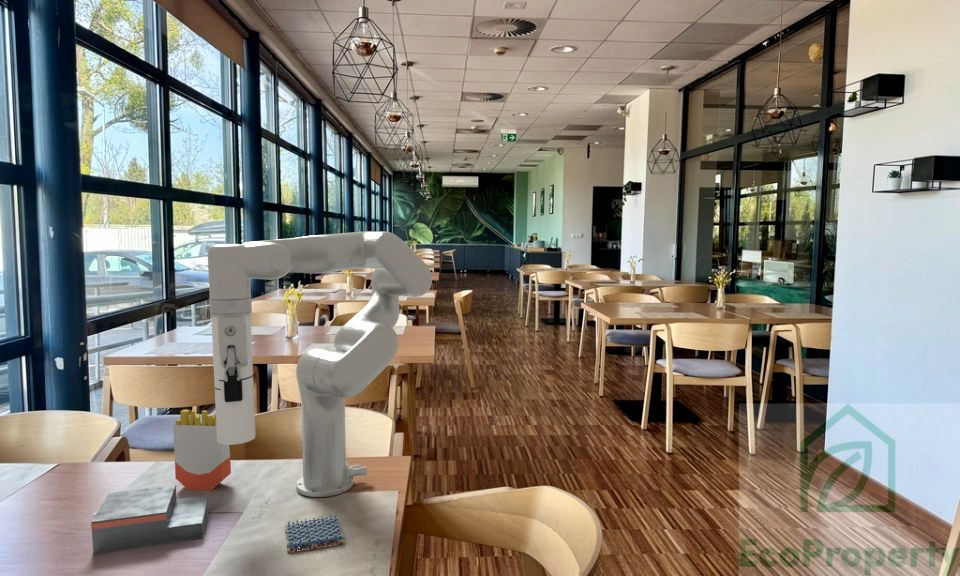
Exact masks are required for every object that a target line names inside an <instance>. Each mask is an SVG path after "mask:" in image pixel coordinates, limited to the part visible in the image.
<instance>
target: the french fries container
mask: <svg viewBox="0 0 960 576" xmlns="http://www.w3.org/2000/svg"><path fill="white" fill-rule="evenodd" d="M172 425H173V426H172V430H173V448H174V450H173V452H174V471H175V472H174V473H175V480H177V481H178V483H180V484H181V486H183V487H184V488H185V489H186V490H187V489H188V490H191V491H210V490H211V491H212V490H213V489H214V488H216V487H217V486H218V485H220V484H221V483H222V482H223V481H224V480H225V479H226V478H228V476H230V475H231V473H232V465H231V464H232V463H231V452H230V451H231V449H230V445H224V444H220V443H218V442H217V428H216V413H214V414H208V410H202V411H201V416H200V414H198V413H196V410H195V409H193V410H190V409H183V410H180V418H179V419H176V420H175V423H174V424H172ZM219 483H220V484H219Z"/></svg>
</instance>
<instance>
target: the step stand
mask: <svg viewBox="0 0 960 576" xmlns="http://www.w3.org/2000/svg"><path fill="white" fill-rule="evenodd" d="M209 508H210V505H209V495H208V494H206V495H198V496H189V497H182V498H177V485H176V484H173V485H165V486H155V487H148V488H138V489H131V490H123V491H121V490H120V491H116V492H115V491H113V492H108V494H107V495H106V497H105V498H104V500H103V502H102V504H101V506H100V507H99V509H98V511H97V512H96V514H95V515H94V517H93V519H92V521H91V523H90V526H91V527H90V529H91V538H92V554H93V555H94V554H95V555H97V554H103V553H109V552H115V551H116V552H117V551H122V550H123V551H124V550H131V549H137V548H138V549H139V548H145V547H150V546H158V545H164V544H165V545H166V544H170V543H172V544H173V543H178V542H185V541H192V540H193V541H194V540H199V539H203V537H204V534H205V529H206V524H207V519H208V515H209V510H210V509H209Z"/></svg>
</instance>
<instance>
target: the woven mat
mask: <svg viewBox="0 0 960 576" xmlns="http://www.w3.org/2000/svg"><path fill="white" fill-rule="evenodd" d="M295 521H296V522H295ZM295 521H292V524H291V523H290V522H291V521H287V524H286V525H285V527H284V528H285V529H284V530H285V531H284V532H285V538H286V539H287V543H286V544H285V546H287V548H286V552H287V553H289V552H293V553H298V552H297V549H298V551H299V550H300V551H299V552H302V551H301V550H302V549H303V550H305V549H311V550H316V549H319V548H318V547H322V548H325V547H324V546H328V547H330V546H329V545H334V546H339V545H344V544H345V543H346V540H345V539H343V538H344V537H345V536H344V533H343V529H342V525H341V523H340V522H339V521H340V519H339V517H337V516H336V515H334V516H333V515H329V518H328V516H326V517H325V518H324V516H321V517H320V518H319V517H318V518H317V519H316V518H315V517H313V518H312V520H311V519H309V520H307V519H304V520H300V522H299V520H298V519H297V520H295ZM334 525H335V526H334ZM300 527H301V528H300ZM305 527H306V528H305ZM301 533H302V534H301ZM305 535H306V536H305ZM302 538H303V539H302ZM338 538H339V539H338ZM297 539H298V540H297ZM325 540H326V541H325ZM320 541H321V542H320ZM329 542H330V543H329ZM324 543H326V544H324ZM320 544H321V545H320ZM294 545H295V546H294ZM307 546H309V547H307ZM297 547H300V548H297ZM293 548H295V549H293ZM312 548H313V549H312ZM287 549H288V550H287ZM294 551H295V552H294ZM305 551H306V550H305Z"/></svg>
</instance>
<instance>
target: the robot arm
mask: <svg viewBox="0 0 960 576" xmlns="http://www.w3.org/2000/svg"><path fill="white" fill-rule="evenodd" d="M367 268H368V269H369V268H374V269H373V272H372V275H371V294H370V295H371V296H370V299H369V300H368V302H367V304H365V306H364V307H363V308H361V309H360V310H359V311H358V312H357V313H356V314H355V315H353V317H352V318H350V319H348V321H347V322H346V323H345V324H344V325H342V326H341V328H340V329H338V331H337V332H336V334H335V336H334V341H333V345H334V349H329V348H325V347H315V348H311V349H309V350H307V351H305V352H304V353H303V354H302V355H301V356H300V357H299V359H298V362H297V364H296V368H295V369H296V371H295V375H296V382H297V388H298V391H299V396H300V397H299V398H300V405H301V406H300V407H301V409H300V411H301V444H302V445H301V446H302V449H301V451H302V477H301V478H299V479H297V481H296V484H295V488H296V492H298V493H299V494H301V495H302V496H307V497H311V498H312V497H313V498H325V497H331V496H332V497H333V496H336V495H340V494H343V493H345V492H347V491H349V490H350V489H351V488H352V487H353V485H354V477H358V476H359V477H363V476H368V468H367V466H361V465H360V464H354V465H350V464H348V462H347V455H346V453H347V452H346V451H347V450H346V449H347V448H346V447H347V446H346V405H345V400H344V399H351V398H354V397H355V396H356V395H359V394H361V393H362V391H364V390H365V389H366V388H367V387H368V386H369V385H370V384H371V383H372V382H373V381H374V380H375V379H376V378H377V377H379V374H381V373H382V372H383V371H384V370H385V369H386V368H387V367H388V366H389V364H391V362H392V361H393V359H394V358H395V356H396V354H397V350H398V349H399V348H398V347H399V337H398V334H397V332H396V331H395V329H394V327H395V326H396V324H397V323H398V320H399V317H400V297H401V296H402V297H408V298H410V297H411V298H418V297H422V296H424V295H425V294H427V293H428V291H430V289H431V286H432V284H433V277H432V272H431V270H430V267H429V266H428V265H427V263H425V261H424V260H423V259H422V258H421V257H420V256H419V255H418V254H417V253H416V252H415V251H414V250H413V249H412V247H410V246H409V245H408V244H407V243H406V242H405V241H404V240H403V239H401V238H400V237H399V236H398V235H396V234H395V233H393V232H389V231H353V232H352V231H351V232H343V233H341V232H340V233H329V234H328V233H327V234H318V235H314V234H313V235H307V236H301V237H300V236H299V237H294V238H293V237H292V238H291V237H290V238H280V239H279V238H277V239H268V240H267V239H266V240H257V241H256V240H254V241H246V242H243V243H241V244H240V243H220V244H213V245H211V246H210V247H209V248H208V250H207V269H208V286H209V287H208V290H209V291H208V292H209V307H210V308H209V312H210V313H209V315H210V317H211V316H213V317H218V342H219V354H220V363H221V366H222V367H223V368H225V381H224V398H225V402H235V401H242V399H243V395H242V380H240V364H241V365H242V364H244V366H247V365H248V348H247V330H246V322H245V316H246V315H250V314H251V315H252V313H253V312H252V292H251V291H252V290H251V288H252V287H251V286H252V285H251V280H253V279H254V280H269V281H271V280H273V281H275V280H279V279H281V278H284V277H285V276H286V275H288V273H301V274H303V273H304V274H330V273H331V274H332V273H335V272H336V273H337V272H343V271H350V270H357V269H359V270H360V269H367ZM230 329H232V330H231V331H229V330H230ZM235 353H236V356H237V358H238V364H235ZM226 357H228V361H227V360H226ZM224 361H225V364H224ZM224 365H225V366H224ZM235 368H237V370H236V369H235Z"/></svg>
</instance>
